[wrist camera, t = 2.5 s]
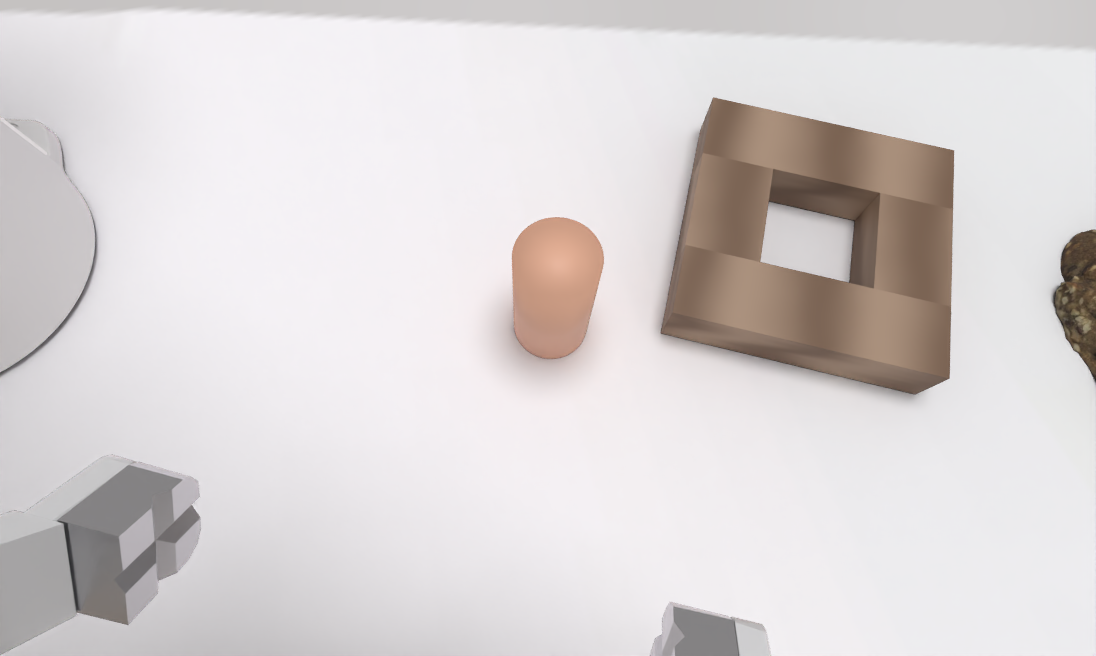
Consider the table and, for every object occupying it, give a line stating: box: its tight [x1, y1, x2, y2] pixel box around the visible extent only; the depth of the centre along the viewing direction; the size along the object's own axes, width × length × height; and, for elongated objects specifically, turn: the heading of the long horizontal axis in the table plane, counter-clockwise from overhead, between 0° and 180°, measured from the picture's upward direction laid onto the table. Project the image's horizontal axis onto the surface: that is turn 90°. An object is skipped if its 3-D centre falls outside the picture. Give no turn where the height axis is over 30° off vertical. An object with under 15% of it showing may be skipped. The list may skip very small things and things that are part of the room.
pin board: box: [661, 98, 954, 394], centre depth 37 cm, size 14×14×3 cm
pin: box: [512, 217, 604, 359], centre depth 32 cm, size 4×4×8 cm
